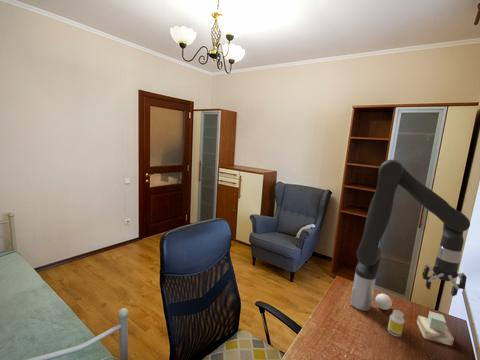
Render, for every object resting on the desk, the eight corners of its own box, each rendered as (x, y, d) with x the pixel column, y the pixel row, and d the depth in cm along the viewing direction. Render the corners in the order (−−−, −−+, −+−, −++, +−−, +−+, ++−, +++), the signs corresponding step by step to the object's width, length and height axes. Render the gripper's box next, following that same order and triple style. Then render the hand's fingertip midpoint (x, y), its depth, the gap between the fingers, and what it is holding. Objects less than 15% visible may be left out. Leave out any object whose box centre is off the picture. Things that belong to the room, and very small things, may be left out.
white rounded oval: (373, 301, 129) (375, 288, 128) (389, 306, 126) (392, 293, 125) (374, 313, 121) (376, 300, 119) (392, 318, 117) (394, 305, 116)
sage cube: (429, 327, 108) (431, 317, 107) (427, 320, 112) (429, 310, 112) (443, 332, 106) (446, 322, 105) (440, 324, 110) (443, 315, 109)
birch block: (424, 339, 107) (425, 331, 106) (416, 322, 116) (418, 315, 115) (451, 346, 104) (454, 338, 103) (441, 329, 113) (443, 321, 112)
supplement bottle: (403, 338, 106) (407, 318, 104) (390, 335, 107) (393, 316, 105) (398, 328, 112) (402, 309, 110) (385, 326, 113) (389, 307, 111)
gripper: (429, 256, 104) (422, 291, 107) (473, 266, 97) (464, 302, 101) (425, 249, 110) (418, 282, 113) (466, 258, 104) (458, 292, 107)
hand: (440, 291), depth 107 cm, fingers open, 8 cm apart
